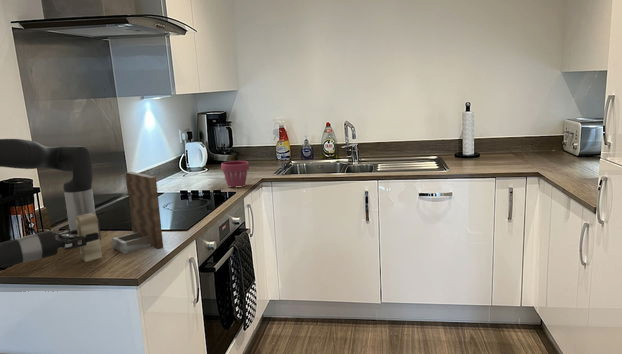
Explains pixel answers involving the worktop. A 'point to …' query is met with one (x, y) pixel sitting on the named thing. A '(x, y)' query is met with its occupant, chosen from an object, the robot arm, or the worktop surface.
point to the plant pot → (235, 172)
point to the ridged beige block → (88, 226)
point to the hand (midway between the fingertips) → (92, 233)
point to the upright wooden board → (141, 215)
